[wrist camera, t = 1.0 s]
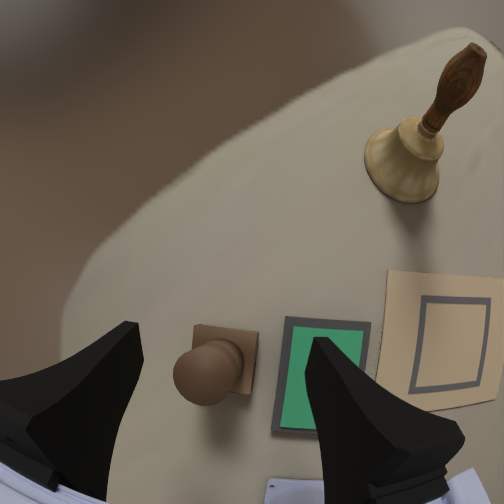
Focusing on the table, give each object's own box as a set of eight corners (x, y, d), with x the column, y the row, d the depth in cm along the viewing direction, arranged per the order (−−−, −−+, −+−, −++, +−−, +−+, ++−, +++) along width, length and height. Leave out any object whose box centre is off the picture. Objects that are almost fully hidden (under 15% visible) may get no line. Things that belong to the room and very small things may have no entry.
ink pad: (349, 429, 21) (352, 436, 19) (271, 425, 22) (270, 432, 20) (367, 321, 22) (372, 322, 21) (285, 315, 23) (285, 316, 22)
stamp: (253, 387, 23) (238, 422, 15) (197, 378, 23) (161, 405, 16) (259, 331, 23) (247, 344, 16) (201, 323, 24) (165, 331, 16)
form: (495, 398, 19) (496, 398, 18) (368, 414, 21) (369, 415, 20) (510, 279, 21) (511, 279, 20) (387, 270, 23) (388, 269, 23)
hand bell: (359, 124, 26) (399, -4, 10) (430, 135, 24) (497, 34, 9) (367, 200, 24) (445, 82, 9) (443, 207, 23) (549, 126, 8)
